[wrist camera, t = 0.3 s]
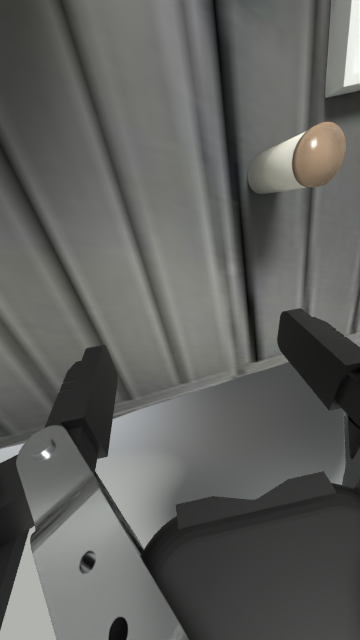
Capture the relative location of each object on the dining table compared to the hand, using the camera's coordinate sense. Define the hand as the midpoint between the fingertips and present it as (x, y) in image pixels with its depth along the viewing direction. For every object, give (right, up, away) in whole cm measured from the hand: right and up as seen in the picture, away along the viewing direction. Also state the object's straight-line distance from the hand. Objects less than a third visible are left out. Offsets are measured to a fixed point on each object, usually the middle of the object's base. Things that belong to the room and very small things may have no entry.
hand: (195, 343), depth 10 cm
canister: (+12, +22, +22) cm, 33 cm away
